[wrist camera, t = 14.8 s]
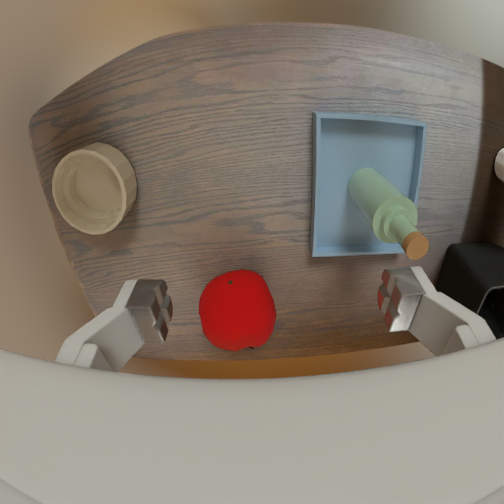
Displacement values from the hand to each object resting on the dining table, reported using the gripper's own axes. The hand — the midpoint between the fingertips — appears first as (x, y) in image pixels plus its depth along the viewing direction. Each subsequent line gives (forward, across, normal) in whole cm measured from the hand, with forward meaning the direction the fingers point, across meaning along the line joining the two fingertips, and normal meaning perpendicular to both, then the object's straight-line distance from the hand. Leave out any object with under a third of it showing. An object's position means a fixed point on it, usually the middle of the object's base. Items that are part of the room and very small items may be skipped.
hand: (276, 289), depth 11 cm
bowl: (+32, +25, +5) cm, 41 cm away
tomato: (+31, +5, +27) cm, 42 cm away
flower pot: (+31, -40, +25) cm, 56 cm away
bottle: (+31, -15, +8) cm, 35 cm away
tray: (+31, -15, +8) cm, 36 cm away
